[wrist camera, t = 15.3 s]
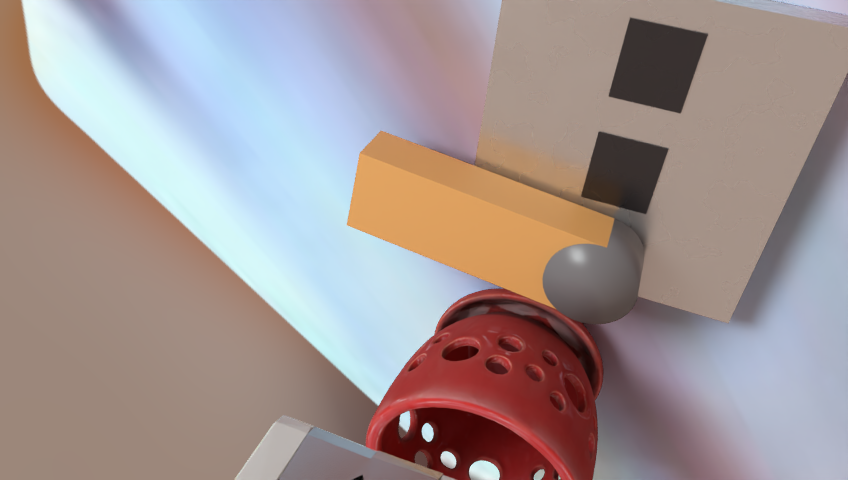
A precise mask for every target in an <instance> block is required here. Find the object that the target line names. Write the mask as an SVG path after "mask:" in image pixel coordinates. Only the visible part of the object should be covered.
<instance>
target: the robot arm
mask: <svg viewBox="0 0 848 480" xmlns="http://www.w3.org/2000/svg"><path fill="white" fill-rule="evenodd" d="M234 480H456V479H453V478H450V477H448V476H445V475H443V473H440V472H438V471H435V470H432V469H429V468H426V467H423V466H421V465H417V464H415V463H412V462H409V461H406V460H404V459H401V458H398V457H395V456H392V455H390V454H387V453H384V452H381V451H375V450H373V449H370V448H368V447H365V446H362V445H360V444H357V443H355V442H352V441H350V440H347V439H345V438H342V437H340V436H337V435H335V434H332V433H329V432H327V431H324V430H322V429H319V428H317V427H315V426H312V425H310V424H307V423H304V422H301V421H299V420H296V419H294V418H290V417H288V416H285V415H283V416H282V417H281V418H279V419H278V420H277V421H276V422H275V423H274V424H273V425H272V427H271V428H270V429H269V431H268V432H267V434H266V435H265V437H264V438H263V440H262V441H261V442H260V444H259V445H258V447H257V448H256V449H255V451H254V452H253V454H252V455H251V457H250V458H249V459H248V461H247V462H246V464H245V465H244V467H243V468H242V469H241V471H240V472H239V474H238V475H237V477H236V478H235V479H234Z"/></svg>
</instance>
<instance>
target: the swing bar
mask: <svg viewBox="0 0 848 480" xmlns="http://www.w3.org/2000/svg"><path fill="white" fill-rule="evenodd" d="M347 225H348V226H350V227H353V228H355V229H358V230H360V231H363V232H365V233H368V234H370V235H373V236H375V237H378V238H380V239H383V240H385V241H388V242H390V243H393V244H395V245H398V246H400V247H403V248H405V249H408V250H410V251H413V252H415V253H418V254H420V255H423V256H425V257H428V258H430V259H433V260H435V261H438V262H440V263H442V264H445V265H447V266H450V267H452V268H455V269H457V270H460V271H462V272H465V273H467V274H470V275H472V276H475V277H477V278H480V279H482V280H485V281H487V282H490V283H492V284H495V285H497V286H500V287H502V288H505V289H507V290H510V291H512V292H515V293H517V294H520V295H522V296H525V297H527V298H530V299H532V300H535V301H537V302H540V303H542V304H545V305H547V306H550V307H552V308H555V309H557V310H558V311H559V312H561V313H562V314H563V315H565V316H567V317H569V318H571V319H573V320H575V321H578V322H582V323H587V324H605V323H610V322H613V321H616V320H618V319H620V318H622V317H624V316H625V315H626V314H627V313H629V311H630V310H631V309H632V308H633V306H634V305H635V303H636V300H637V296H638V291H639V286H640V280H641V275H642V269H643V264H644V249H643V245H642V243H641V240H640V239H639V237H638V235H637V234H636V233H635V232H634V231H633V230H632V229H631V228H630V227H629V226H627V225H626V224H625V223H623V222H621V221H619V220H617V219H615V218H612V217H609V216H607V215H604V214H601V213H599V212H596V211H593V210H591V209H588V208H586V207H583V206H580V205H578V204H575V203H572V202H570V201H567V200H564V199H562V198H559V197H556V196H554V195H551V194H548V193H546V192H543V191H540V190H538V189H535V188H532V187H530V186H527V185H524V184H522V183H519V182H516V181H514V180H511V179H508V178H506V177H503V176H500V175H498V174H495V173H492V172H490V171H487V170H485V169H482V168H479V167H477V166H474V165H471V164H469V163H466V162H463V161H461V160H458V159H455V158H453V157H450V156H447V155H445V154H442V153H439V152H437V151H434V150H431V149H429V148H426V147H423V146H421V145H418V144H415V143H413V142H410V141H407V140H405V139H402V138H399V137H397V136H394V135H391V134H389V133H386V132H383V131H380V132H379V133H378V134H377V136H376V137H375V138H374V139H373V140H372V141H371V142H370V143H369V144H368V145H367V146H366V147H365V148H364V149H363V150H362V151H361V152H360V155H359V160H358V166H357V172H356V177H355V183H354V188H353V194H352V199H351V205H350V211H349V216H348V222H347Z"/></svg>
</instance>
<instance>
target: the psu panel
mask: <svg viewBox="0 0 848 480" xmlns="http://www.w3.org/2000/svg"><path fill="white" fill-rule="evenodd" d="M847 73H848V15H843V14H838V13H833V12H827V11H822V10H817V9H812V8H807V7H802V6H797V5H792V4H787V3H782V2H777V1H772V0H502V4H501V10H500V16H499V22H498V28H497V34H496V40H495V46H494V52H493V58H492V64H491V70H490V76H489V82H488V88H487V94H486V100H485V106H484V112H483V118H482V124H481V130H480V136H479V142H478V148H477V154H476V160H475V166H477V167H479V168H482V169H485V170H487V171H490V172H492V173H495V174H498V175H500V176H503V177H506V178H508V179H511V180H514V181H516V182H519V183H522V184H524V185H527V186H530V187H532V188H535V189H538V190H540V191H543V192H546V193H548V194H551V195H554V196H556V197H559V198H562V199H564V200H567V201H570V202H572V203H575V204H578V205H580V206H583V207H586V208H588V209H591V210H593V211H596V212H599V213H601V214H604V215H607V216H609V217H612V218H615V219H617V220H619V221H621V222H623V223H625V224H626V225H627V226H629V227H630V228H631V229H632V230H633V231H634V232H635V233H636V234H637V235H638V237H639V239H640V240H641V243H642V245H643V249H644V264H643V269H642V275H641V280H640V286H639V291H638V297H641V298H644V299H648V300H651V301H654V302H658V303H661V304H665V305H668V306H671V307H675V308H678V309H682V310H685V311H688V312H692V313H695V314H698V315H702V316H705V317H709V318H712V319H715V320H719V321H722V322H725V323H729V321H730V319H731V317H732V314H733V312H734V310H735V308H736V306H737V304H738V302H739V300H740V298H741V296H742V293H743V291H744V289H745V287H746V285H747V283H748V281H749V279H750V277H751V275H752V272H753V270H754V268H755V266H756V264H757V262H758V260H759V258H760V256H761V254H762V251H763V249H764V247H765V245H766V243H767V241H768V239H769V237H770V235H771V233H772V230H773V228H774V226H775V224H776V222H777V220H778V218H779V216H780V214H781V212H782V210H783V207H784V205H785V203H786V201H787V199H788V197H789V195H790V193H791V191H792V189H793V186H794V184H795V182H796V180H797V178H798V176H799V174H800V172H801V170H802V168H803V165H804V163H805V161H806V159H807V157H808V155H809V153H810V151H811V149H812V147H813V144H814V142H815V140H816V138H817V136H818V134H819V132H820V130H821V128H822V126H823V123H824V121H825V119H826V117H827V115H828V113H829V111H830V109H831V107H832V105H833V102H834V100H835V98H836V96H837V94H838V92H839V90H840V88H841V86H842V84H843V81H844V79H845V77H846V75H847Z"/></svg>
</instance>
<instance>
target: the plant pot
mask: <svg viewBox="0 0 848 480" xmlns="http://www.w3.org/2000/svg"><path fill="white" fill-rule="evenodd" d="M602 382H603V365H602V359H601V356H600V353H599V350H598V348H597V345H596V343H595V341H594V339H593V338H592V336H591V334H590V333H589V332H588V330H587V329H586V327H585V326H584V325H583V324H582V323H581V322H578V321H575V320H573V319H571V318H569V317H567V316H565V315H563V314H562V313H561V312H559V311H558V310H557V309H555V308H552V307H550V306H547V305H545V304H542V303H540V302H537V301H535V300H532V299H530V298H527V297H525V296H522V295H520V294H517V293H515V292H512V291H510V290H507V289H488V290H482V291H478V292H475V293H472V294H469V295H467V296H465V297H463V298H461V299H460V300H458V301H457V302H455V303H454V304H453V305H451V306H450V307H449V308H448V309H447V311H446V312H445V313H444V314H443V315H442V317H441V319H440V320H439V322H438V324H437V327H436V330H435V335H434V336H433V337H431V338H430V339H429V340H428V341H427V342H426V343H424V344H423V345H422V346H421V347H420V348H419V349H418V351H417V352H416V353H415V354H414V355H413V356H412V357H411V358H410V360H409V361H408V362H407V363H406V365H405V366H404V368H403V369H402V370H401V372H400V373H399V375H398V376H397V377H396V379H395V380H394V382H393V383H392V385H391V386H390V388H389V389H388V391H387V393H386V394H385V396H384V398H383V399H382V401H381V403H380V405H379V406H378V408H377V410H376V412H375V414H374V416H373V418H372V420H371V422H370V425H369V427H368V430H367V436H366V447H368V448H370V449H373V450H375V451H381V452H384V453H387V454H390V455H392V456H395V457H398V458H401V459H404V460H406V461H409V462H412V463H415V460H414V458H415V454H416V453H417V452H418V451H421V452H423V453H424V454H425V455H426V458H427V461H428V465H427V468H429V469H432V470H435V471H438V472H440V473H443V475H445V476H448V477H450V478H453V479H456V480H471V479H470V477H469V468H470V466H471V465H472V464H473V463H474V462H476V461H479V460H484V461H489V462H491V463H493V464H494V465H495V466H496V467H497V468H498V470H499V472H500V478H499V480H534V479H533V478H534V475H535V473H536V472H537V471H538V470H540V469H544V470H545V474H544V477H543V478H542V479H541V480H558V475H559V476H560V477H561V479H560V480H592V479H593V473H594V467H595V461H596V453H597V441H598V427H597V413H596V406H595V400H596V398H597V396H598V395H599V392H600V390H601V387H602ZM406 411H410V427H409V430H408V432H407V434H406V435H405V436H404V437H403V438H401V437H400V436H399V432H398V426H399V421H400V414H402V413H404V412H406ZM425 423H429V424H430V425H431V426H432V428H433V432H434V436H433V439H432V441H430V442H427V441H426V440H425V439H424V438H423V436H422V432H421V431H422V427H423V425H424V424H425ZM444 451H448V452H451V453H452V454H453V455H454V456H455V458H456V466H455V468H453V469H450V468H448V467H446V466H445V465H443V463H442V462H441V459H440V457H441V454H442V452H444Z"/></svg>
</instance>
